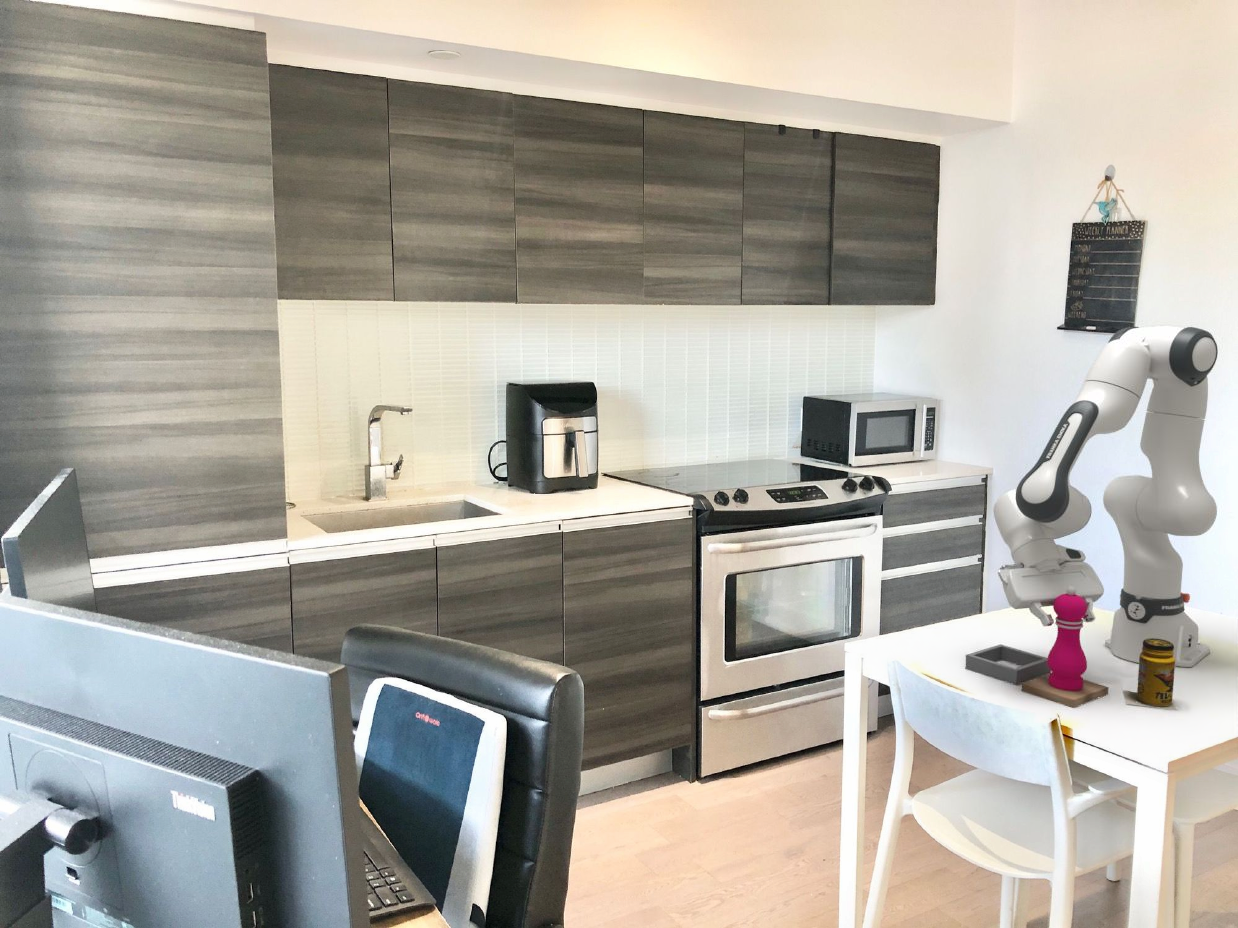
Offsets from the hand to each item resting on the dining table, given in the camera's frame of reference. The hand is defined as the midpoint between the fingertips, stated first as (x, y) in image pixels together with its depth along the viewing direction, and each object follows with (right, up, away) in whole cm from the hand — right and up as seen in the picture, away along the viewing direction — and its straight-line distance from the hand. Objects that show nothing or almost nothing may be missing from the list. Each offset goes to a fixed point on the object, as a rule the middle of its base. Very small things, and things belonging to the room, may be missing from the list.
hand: (1069, 622), depth 194 cm
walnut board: (0, -14, +2) cm, 14 cm away
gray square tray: (-6, -12, +15) cm, 21 cm away
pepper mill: (0, -13, +2) cm, 13 cm away
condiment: (+14, -15, -2) cm, 21 cm away
